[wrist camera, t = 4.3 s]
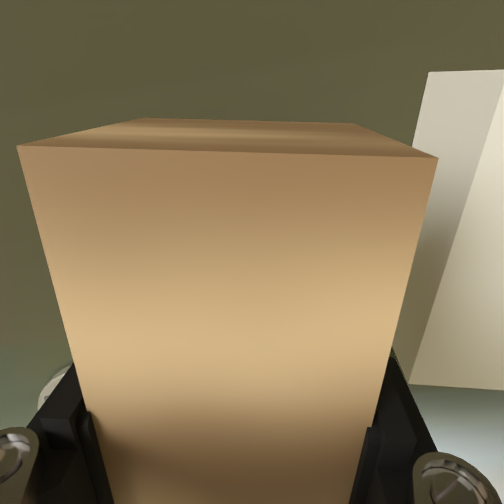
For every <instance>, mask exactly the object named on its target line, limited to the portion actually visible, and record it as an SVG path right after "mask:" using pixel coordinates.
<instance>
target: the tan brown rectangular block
mask: <svg viewBox="0 0 504 504" xmlns="http://www.w3.org/2000/svg"><path fill="white" fill-rule="evenodd" d="M16 147H17V150H18V154H19V158H20V162H21V165H22V169H23V173H24V177H25V180H26V184H27V188H28V192H29V195H30V199H31V203H32V207H33V210H34V214H35V218H36V222H37V225H38V229H39V233H40V237H41V240H42V244H43V248H44V252H45V255H46V259H47V263H48V267H49V270H50V274H51V278H52V282H53V285H54V289H55V293H56V297H57V300H58V304H59V308H60V312H61V315H62V319H63V323H64V327H65V330H66V334H67V338H68V342H69V345H70V349H71V353H72V357H73V360H74V364H75V368H76V372H77V375H78V379H79V383H80V387H81V390H82V394H83V398H84V402H85V405H86V409H87V411H89V412H91V416H92V419H93V423H94V427H95V431H96V435H97V439H98V442H99V446H100V450H101V454H102V458H103V462H104V465H105V469H106V473H107V477H108V481H109V485H110V488H111V492H112V496H113V500H114V504H349V500H350V496H351V491H352V487H353V483H354V479H355V475H356V471H357V467H358V463H359V459H360V454H361V450H362V446H363V442H364V438H365V434H366V430H367V427H371V426H372V422H373V418H374V414H375V410H376V406H377V402H378V398H379V394H380V390H381V386H382V382H383V378H384V374H385V370H386V366H387V362H388V358H389V354H390V350H391V346H392V342H393V338H394V334H395V330H396V326H397V322H398V319H399V315H400V311H401V307H402V303H403V299H404V295H405V291H406V287H407V283H408V279H409V275H410V271H411V267H412V263H413V259H414V255H415V251H416V247H417V243H418V239H419V235H420V231H421V227H422V223H423V219H424V215H425V211H426V207H427V203H428V199H429V195H430V191H431V187H432V183H433V179H434V175H435V171H436V167H437V163H438V159H439V158H438V157H435V156H433V155H430V154H428V153H425V152H423V151H420V150H418V149H415V148H413V147H410V146H408V145H405V144H403V143H400V142H398V141H395V140H393V139H390V138H388V137H385V136H383V135H381V134H378V133H376V132H373V131H371V130H368V129H366V128H363V127H361V126H358V125H356V124H353V123H317V122H279V121H241V120H203V119H165V118H140V119H135V120H131V121H126V122H121V123H117V124H112V125H108V126H103V127H99V128H94V129H90V130H85V131H80V132H76V133H71V134H67V135H62V136H58V137H53V138H48V139H44V140H39V141H35V142H30V143H26V144H21V145H17V146H16Z"/></svg>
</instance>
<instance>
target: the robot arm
mask: <svg viewBox="0 0 504 504" xmlns="http://www.w3.org/2000/svg"><path fill="white" fill-rule="evenodd" d="M0 504H114V500H113V496H112V492H111V488H110V485H109V481H108V477H107V473H106V469H105V465H104V462H103V458H102V454H101V450H100V446H99V442H98V439H97V435H96V431H95V427H94V423H93V419H92V416H91V412H89V411H87V409H86V405H85V402H84V398H83V394H82V390H81V387H80V383H79V379H78V375H77V372H76V368H75V364H74V362H73V364H72V365H70V366H68V367H66V368H63V369H62V370H61V371H59V372H58V373H56V374H55V375H54V376H53V377H52V379H51V380H50V381H49V382H48V384H47V385H46V386H45V387H44V389H43V390H42V392H41V394H40V396H39V401H38V412H37V413H36V415H35V416H34V417H33V419H32V420H31V422H30V423H29V424H28V426H27V427H26V428H25V427H9V428H6V429H2V430H0ZM349 504H502V502H501V500H500V498H499V496H498V493H497V491H496V490H495V489H494V487H493V486H492V485H491V483H490V482H489V480H488V479H487V478H486V477H485V476H484V475H483V474H482V473H481V472H480V471H478V470H477V469H476V468H475V467H474V466H472V465H471V464H469V463H468V462H466V461H465V460H463V459H461V458H459V457H456V456H454V455H451V454H448V453H442V452H438V451H437V448H436V446H435V444H434V442H433V440H432V438H431V435H430V433H429V431H428V429H427V427H426V425H425V422H424V420H423V418H422V416H421V414H420V412H419V409H418V407H417V405H416V403H415V401H414V399H413V396H412V394H411V392H410V390H409V388H408V386H407V383H406V381H405V379H404V377H403V375H402V373H401V370H400V368H399V366H398V364H397V362H396V361H395V359H394V358H392V357H389V358H388V362H387V366H386V370H385V374H384V378H383V382H382V386H381V390H380V394H379V398H378V402H377V406H376V410H375V414H374V418H373V422H372V426H371V427H367V430H366V434H365V438H364V442H363V446H362V450H361V454H360V459H359V463H358V467H357V471H356V475H355V479H354V483H353V487H352V491H351V496H350V500H349Z"/></svg>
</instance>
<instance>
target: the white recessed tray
mask: <svg viewBox="0 0 504 504" xmlns="http://www.w3.org/2000/svg"><path fill="white" fill-rule="evenodd" d="M412 147H413V148H415V149H418V150H420V151H423V152H425V153H428V154H430V155H433V156H435V157H438V158H439V159H438V163H437V167H436V171H435V175H434V179H433V183H432V187H431V191H430V195H429V199H428V203H427V207H426V211H425V215H424V219H423V223H422V227H421V231H420V235H419V239H418V243H417V247H416V251H415V255H414V259H413V263H412V267H411V271H410V275H409V279H408V283H407V287H406V291H405V295H404V299H403V303H402V307H401V311H400V315H399V319H398V322H397V326H396V330H395V334H394V338H393V342H392V347H393V350H394V352H395V354H396V357H397V359H398V361H399V364H400V366H401V369H402V371H403V373H404V376H405V378H406V380H407V383H408V384H417V385H432V386H447V387H462V388H477V389H492V390H504V70H481V71H450V72H429V74H428V78H427V82H426V87H425V91H424V96H423V100H422V104H421V109H420V113H419V118H418V122H417V127H416V131H415V135H414V140H413V144H412Z"/></svg>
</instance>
